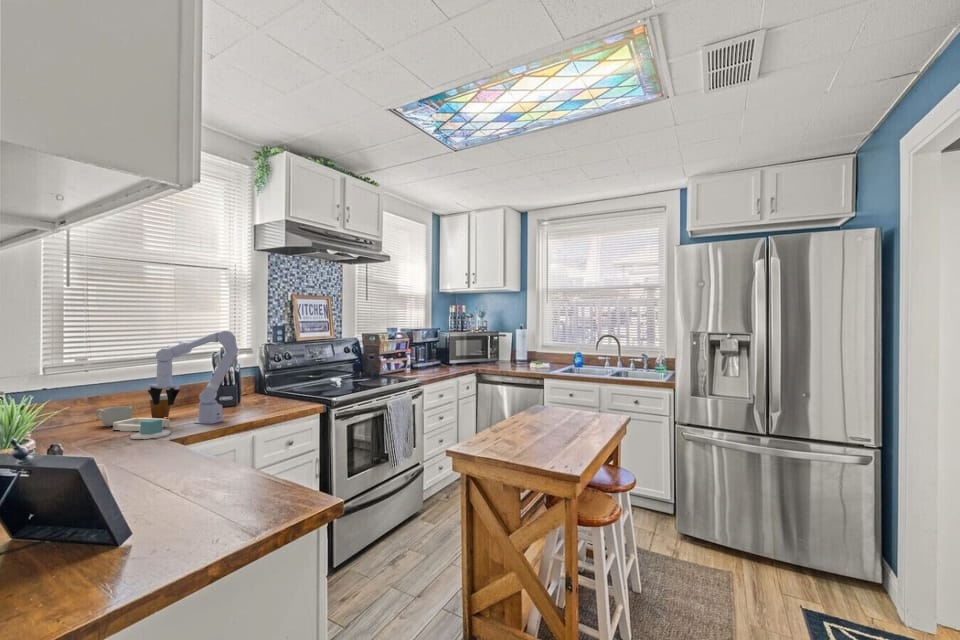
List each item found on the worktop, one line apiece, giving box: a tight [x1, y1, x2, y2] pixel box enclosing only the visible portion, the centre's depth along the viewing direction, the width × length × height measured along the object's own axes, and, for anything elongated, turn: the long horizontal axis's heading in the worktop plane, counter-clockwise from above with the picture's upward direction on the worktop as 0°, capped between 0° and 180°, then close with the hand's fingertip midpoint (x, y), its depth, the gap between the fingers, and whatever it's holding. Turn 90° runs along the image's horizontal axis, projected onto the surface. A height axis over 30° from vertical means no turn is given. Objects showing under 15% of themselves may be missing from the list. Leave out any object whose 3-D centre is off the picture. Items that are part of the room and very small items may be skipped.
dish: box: [130, 429, 172, 439], centre depth 173 cm, size 13×13×1 cm
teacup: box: [95, 405, 133, 428], centre depth 192 cm, size 14×11×8 cm
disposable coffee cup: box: [148, 393, 171, 418], centre depth 207 cm, size 10×10×12 cm
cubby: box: [112, 417, 171, 433], centre depth 186 cm, size 17×11×4 cm, turn 81°
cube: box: [140, 419, 163, 434], centre depth 174 cm, size 5×5×5 cm
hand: (163, 404), depth 193 cm, fingers open, 7 cm apart
